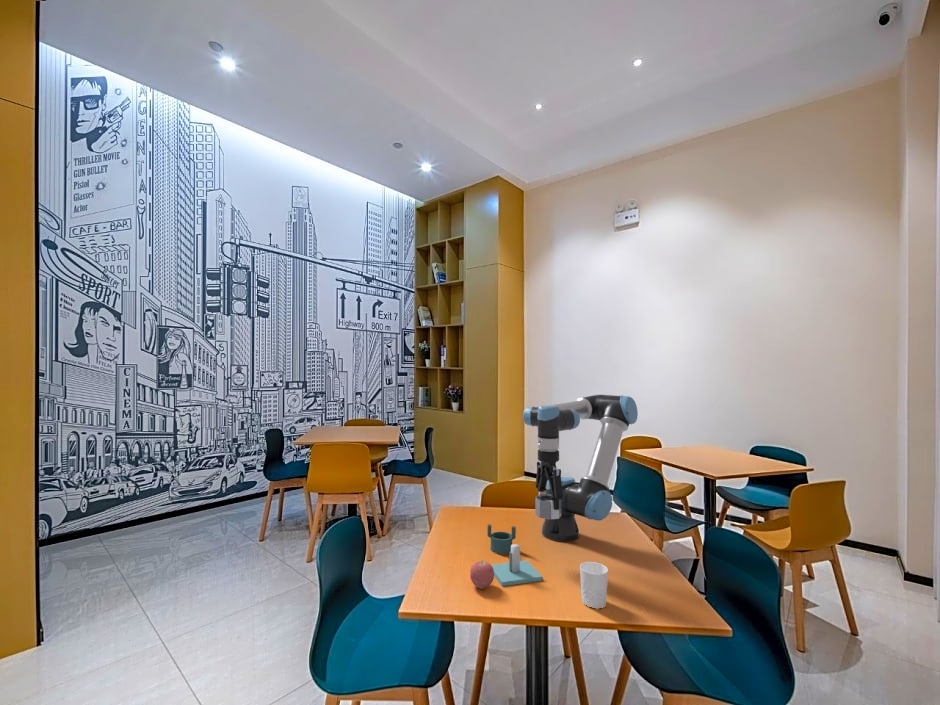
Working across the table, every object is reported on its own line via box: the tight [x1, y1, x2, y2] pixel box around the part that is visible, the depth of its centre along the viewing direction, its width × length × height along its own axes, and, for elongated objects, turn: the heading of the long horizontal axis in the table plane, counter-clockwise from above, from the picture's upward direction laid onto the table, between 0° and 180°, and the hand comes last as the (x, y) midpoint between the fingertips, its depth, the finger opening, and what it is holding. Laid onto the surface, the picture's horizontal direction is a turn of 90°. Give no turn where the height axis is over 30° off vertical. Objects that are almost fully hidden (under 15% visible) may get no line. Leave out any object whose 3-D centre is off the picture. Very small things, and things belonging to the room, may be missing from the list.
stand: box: [491, 543, 544, 587], centre depth 136 cm, size 14×12×9 cm
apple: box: [469, 560, 495, 589], centre depth 128 cm, size 7×7×8 cm
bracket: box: [486, 524, 517, 555], centre depth 156 cm, size 9×9×9 cm
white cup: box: [579, 561, 609, 609], centre depth 120 cm, size 8×8×10 cm
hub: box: [534, 494, 561, 520], centre depth 145 cm, size 8×8×6 cm
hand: (548, 514), depth 145 cm, fingers closed on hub, 8 cm apart
